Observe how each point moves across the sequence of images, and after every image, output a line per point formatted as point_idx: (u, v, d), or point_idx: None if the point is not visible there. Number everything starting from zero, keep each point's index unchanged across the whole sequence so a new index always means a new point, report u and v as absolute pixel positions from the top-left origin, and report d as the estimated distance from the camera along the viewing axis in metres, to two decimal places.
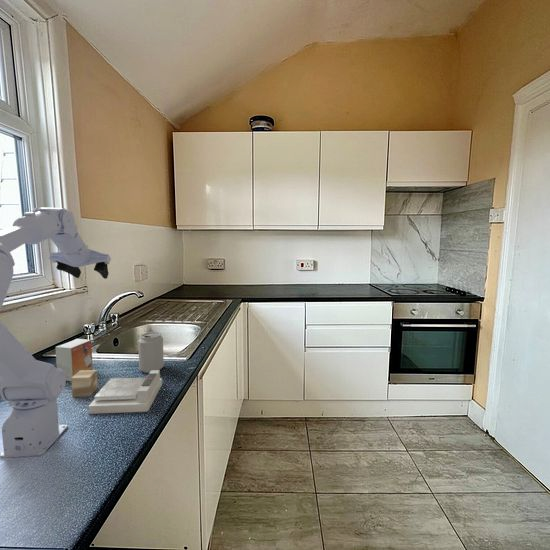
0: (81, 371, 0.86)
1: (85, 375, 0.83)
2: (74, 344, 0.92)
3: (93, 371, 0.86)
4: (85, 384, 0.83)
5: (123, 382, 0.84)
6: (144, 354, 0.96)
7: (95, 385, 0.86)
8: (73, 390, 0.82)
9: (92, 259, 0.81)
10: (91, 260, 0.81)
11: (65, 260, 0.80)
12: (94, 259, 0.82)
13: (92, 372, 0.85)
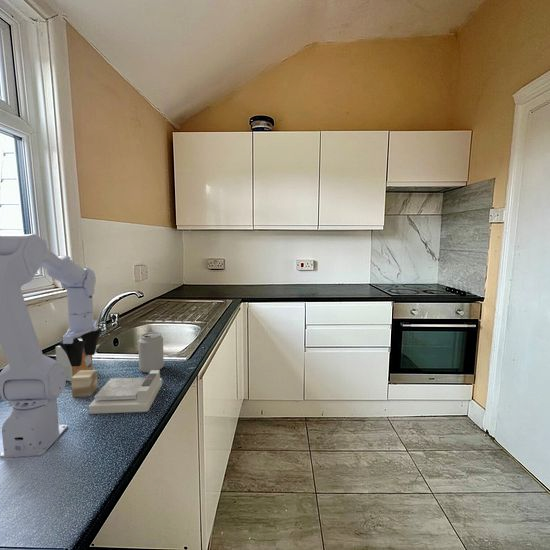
0: (81, 371, 0.86)
1: (85, 375, 0.83)
2: None
3: (93, 371, 0.86)
4: (85, 384, 0.83)
5: (123, 382, 0.84)
6: (144, 354, 0.96)
7: (95, 385, 0.86)
8: (73, 390, 0.82)
9: (72, 333, 0.79)
10: (71, 333, 0.80)
11: None
12: None
13: (92, 372, 0.85)
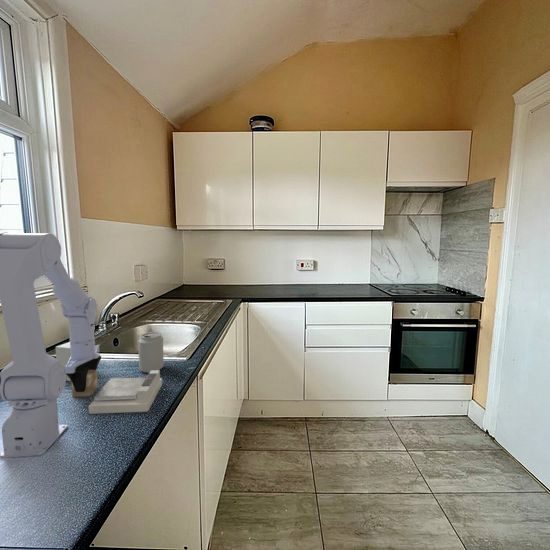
0: None
1: None
2: None
3: (93, 371, 0.86)
4: None
5: (123, 382, 0.84)
6: (144, 354, 0.96)
7: (95, 385, 0.86)
8: (73, 390, 0.82)
9: (74, 361, 0.80)
10: (73, 361, 0.80)
11: None
12: None
13: (92, 372, 0.85)
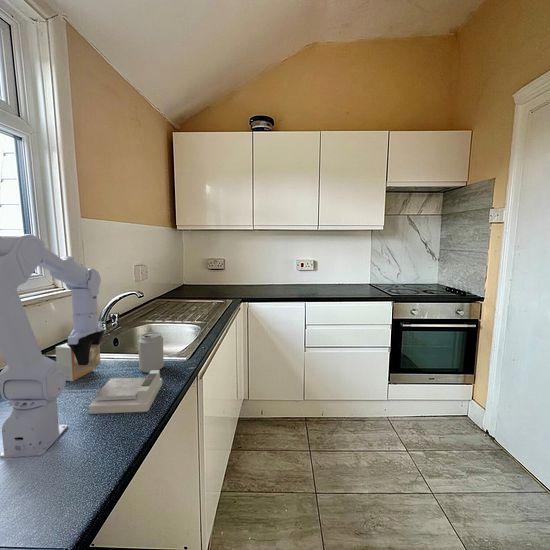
0: None
1: None
2: None
3: (96, 345, 0.85)
4: None
5: (123, 382, 0.84)
6: (144, 354, 0.96)
7: (98, 360, 0.85)
8: (76, 364, 0.81)
9: (77, 333, 0.79)
10: (76, 333, 0.79)
11: None
12: None
13: (95, 346, 0.84)
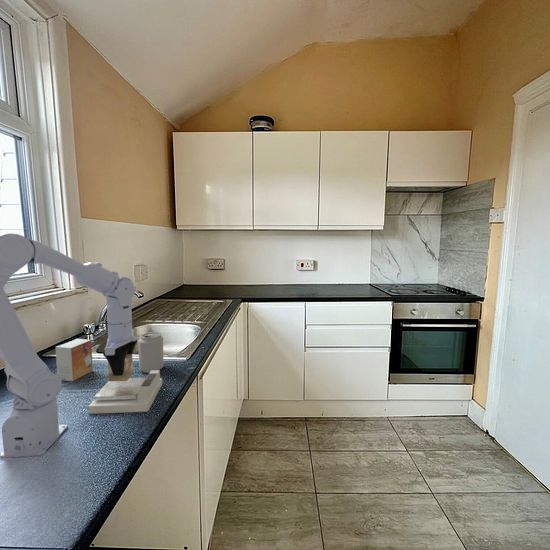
0: None
1: None
2: (74, 344, 0.92)
3: (129, 355, 0.82)
4: None
5: (123, 382, 0.84)
6: (144, 354, 0.96)
7: (131, 370, 0.83)
8: (110, 374, 0.79)
9: (113, 343, 0.77)
10: (111, 343, 0.77)
11: None
12: None
13: (128, 356, 0.82)
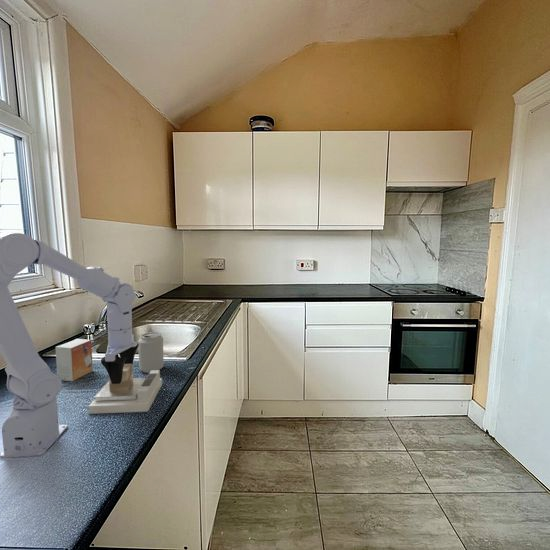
0: None
1: None
2: (74, 344, 0.92)
3: (129, 365, 0.83)
4: (123, 378, 0.80)
5: None
6: (144, 354, 0.96)
7: (131, 379, 0.83)
8: (110, 384, 0.79)
9: (113, 349, 0.77)
10: (112, 349, 0.77)
11: None
12: None
13: (128, 366, 0.82)
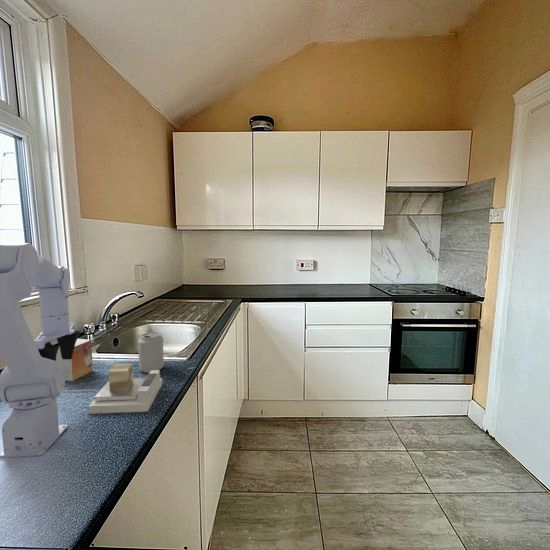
0: (116, 364, 0.83)
1: (122, 369, 0.80)
2: None
3: (129, 365, 0.83)
4: (123, 378, 0.80)
5: None
6: (144, 354, 0.96)
7: (131, 379, 0.83)
8: (110, 384, 0.79)
9: (45, 337, 0.73)
10: (44, 336, 0.73)
11: None
12: None
13: (128, 366, 0.82)
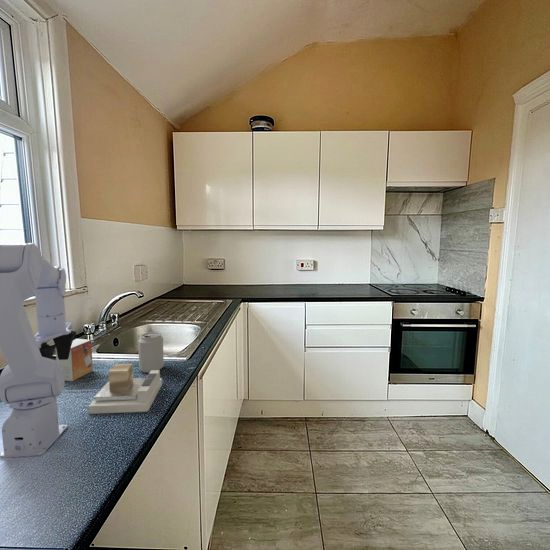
0: (116, 364, 0.83)
1: (122, 369, 0.80)
2: (74, 344, 0.92)
3: (129, 365, 0.83)
4: (123, 378, 0.80)
5: None
6: (144, 354, 0.96)
7: (131, 379, 0.83)
8: (110, 384, 0.79)
9: (41, 337, 0.73)
10: (40, 337, 0.73)
11: None
12: None
13: (128, 366, 0.82)
